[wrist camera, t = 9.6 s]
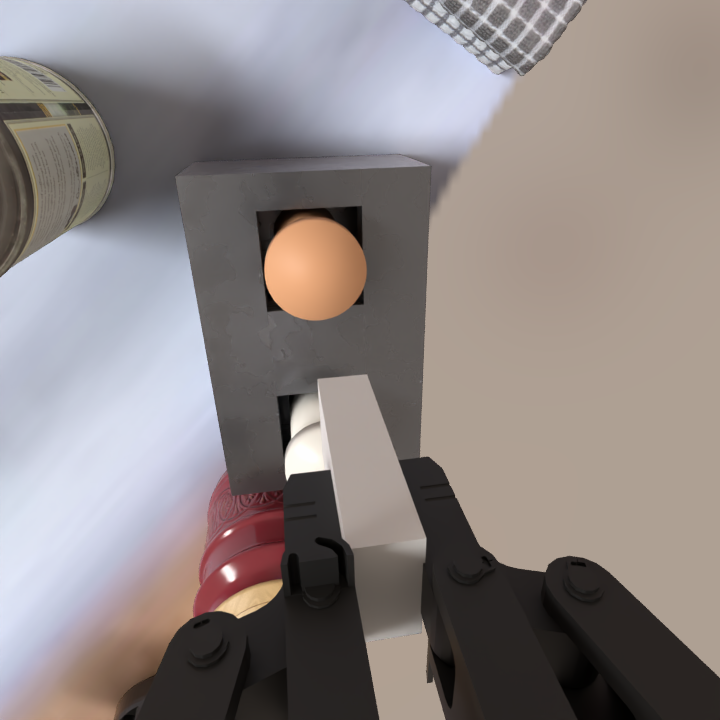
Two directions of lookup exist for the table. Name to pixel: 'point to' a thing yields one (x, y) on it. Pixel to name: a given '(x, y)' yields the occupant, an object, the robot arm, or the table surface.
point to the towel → (502, 28)
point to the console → (295, 335)
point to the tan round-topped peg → (313, 265)
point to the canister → (241, 551)
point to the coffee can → (47, 159)
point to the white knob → (304, 435)
